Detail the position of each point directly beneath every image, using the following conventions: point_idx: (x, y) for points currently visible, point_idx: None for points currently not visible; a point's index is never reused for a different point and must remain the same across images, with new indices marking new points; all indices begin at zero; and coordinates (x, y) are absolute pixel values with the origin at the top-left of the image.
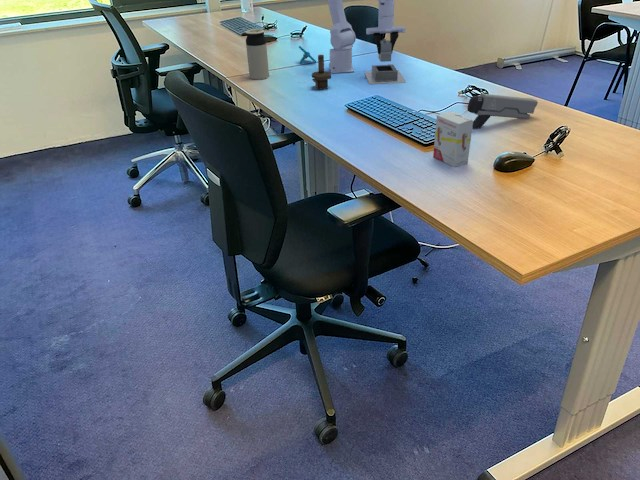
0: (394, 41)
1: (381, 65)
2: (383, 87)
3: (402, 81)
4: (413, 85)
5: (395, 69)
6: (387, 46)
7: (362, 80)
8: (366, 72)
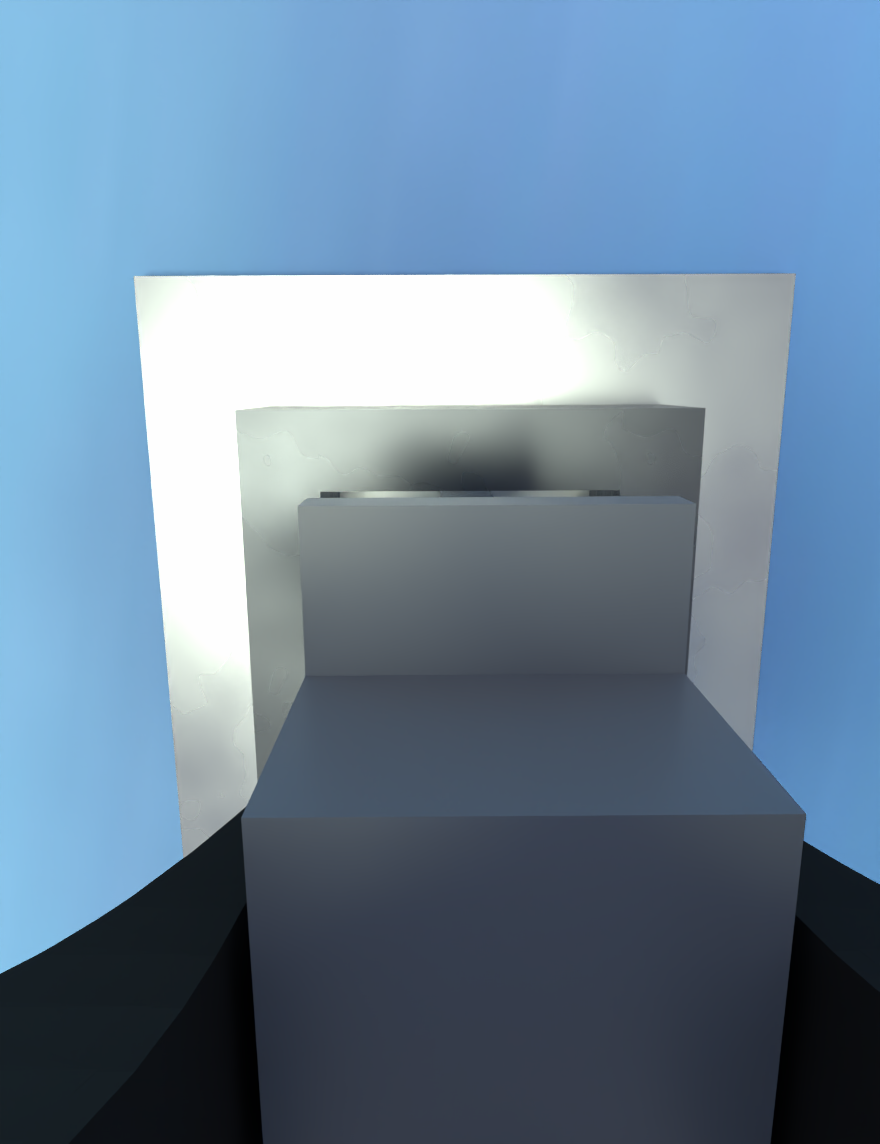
0: (53, 978)
1: None
2: (575, 24)
3: (193, 278)
4: (20, 58)
5: (263, 568)
6: (460, 752)
7: (841, 536)
8: None
